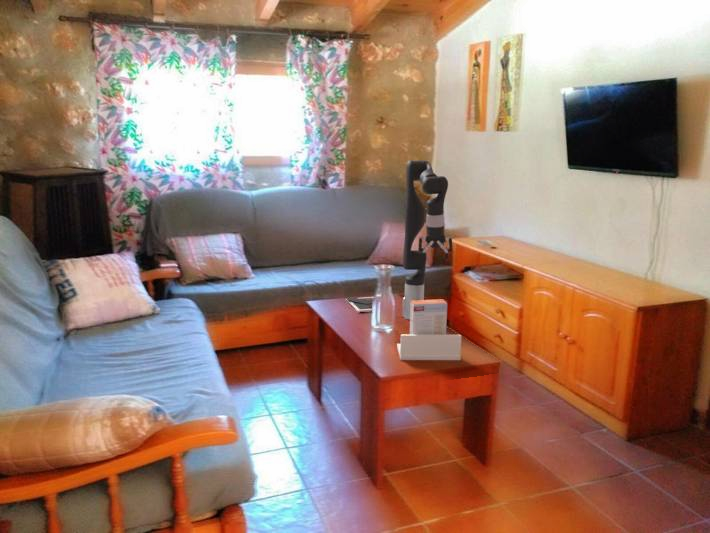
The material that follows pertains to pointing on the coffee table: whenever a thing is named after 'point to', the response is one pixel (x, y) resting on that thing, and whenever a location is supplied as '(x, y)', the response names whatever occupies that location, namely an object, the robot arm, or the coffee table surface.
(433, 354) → the book rack
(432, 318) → the cracker box
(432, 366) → the coffee table surface
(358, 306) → the picture frame
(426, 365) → the coffee table surface
